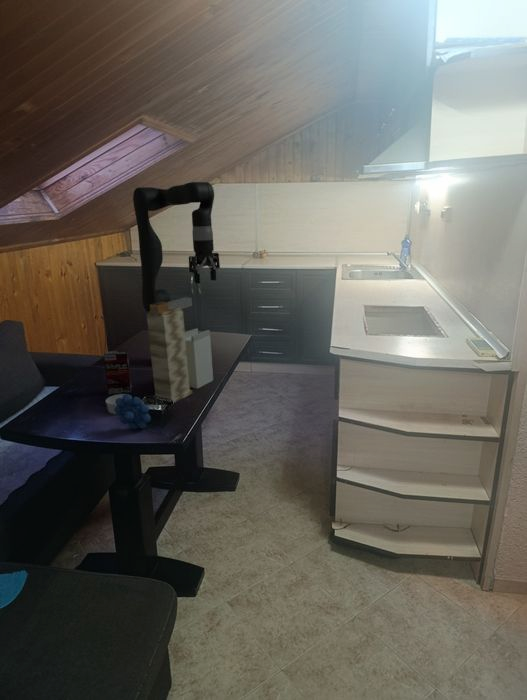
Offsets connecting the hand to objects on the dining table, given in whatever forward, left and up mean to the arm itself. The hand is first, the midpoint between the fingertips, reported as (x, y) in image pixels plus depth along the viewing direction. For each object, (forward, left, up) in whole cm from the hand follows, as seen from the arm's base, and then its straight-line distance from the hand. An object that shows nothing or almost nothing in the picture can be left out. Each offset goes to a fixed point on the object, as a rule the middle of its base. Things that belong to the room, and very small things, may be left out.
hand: (205, 281), depth 180 cm
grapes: (-18, -46, -40) cm, 63 cm away
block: (-10, -15, -8) cm, 19 cm away
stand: (-12, -18, -40) cm, 45 cm away
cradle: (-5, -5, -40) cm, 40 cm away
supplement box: (-34, -13, -40) cm, 54 cm away
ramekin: (-28, -30, -40) cm, 57 cm away
